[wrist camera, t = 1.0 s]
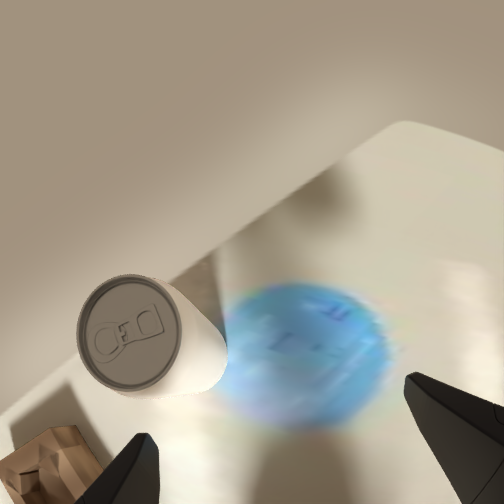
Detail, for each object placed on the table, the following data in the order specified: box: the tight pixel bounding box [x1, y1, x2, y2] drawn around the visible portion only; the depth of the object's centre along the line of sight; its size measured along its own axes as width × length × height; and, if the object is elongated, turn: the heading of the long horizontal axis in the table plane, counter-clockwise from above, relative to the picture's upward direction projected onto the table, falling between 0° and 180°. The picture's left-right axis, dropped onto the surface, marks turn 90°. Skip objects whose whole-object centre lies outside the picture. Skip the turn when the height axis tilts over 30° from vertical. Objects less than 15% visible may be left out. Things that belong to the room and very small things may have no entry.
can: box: [76, 274, 228, 399], centre depth 18 cm, size 6×6×12 cm
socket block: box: [0, 425, 104, 504], centre depth 16 cm, size 11×11×4 cm
